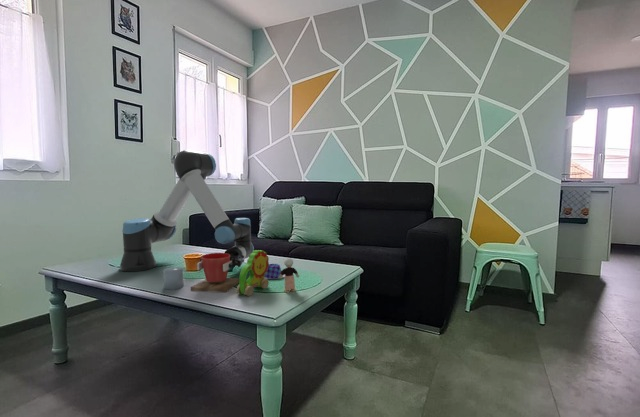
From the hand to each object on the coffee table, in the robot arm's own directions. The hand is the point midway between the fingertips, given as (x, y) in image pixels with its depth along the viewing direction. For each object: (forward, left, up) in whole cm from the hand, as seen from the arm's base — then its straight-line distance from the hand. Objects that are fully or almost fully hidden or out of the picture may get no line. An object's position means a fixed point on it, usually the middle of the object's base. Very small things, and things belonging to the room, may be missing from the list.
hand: (210, 267), depth 126 cm
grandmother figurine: (+30, +2, -9) cm, 31 cm away
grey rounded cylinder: (-16, 0, -9) cm, 18 cm away
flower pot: (0, +4, -6) cm, 8 cm away
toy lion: (+17, +1, -9) cm, 19 cm away
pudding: (+18, +21, -9) cm, 29 cm away
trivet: (0, +4, -9) cm, 10 cm away
